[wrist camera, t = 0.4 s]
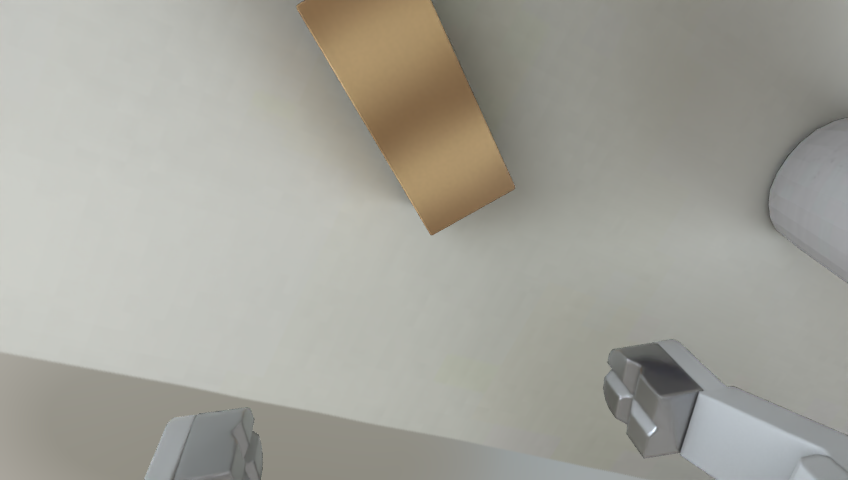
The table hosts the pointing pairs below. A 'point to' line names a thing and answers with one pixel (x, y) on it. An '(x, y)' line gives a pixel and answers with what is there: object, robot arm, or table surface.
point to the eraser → (413, 102)
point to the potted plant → (816, 197)
